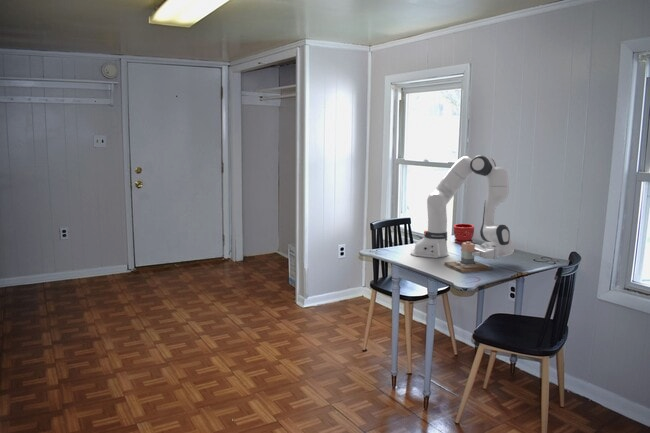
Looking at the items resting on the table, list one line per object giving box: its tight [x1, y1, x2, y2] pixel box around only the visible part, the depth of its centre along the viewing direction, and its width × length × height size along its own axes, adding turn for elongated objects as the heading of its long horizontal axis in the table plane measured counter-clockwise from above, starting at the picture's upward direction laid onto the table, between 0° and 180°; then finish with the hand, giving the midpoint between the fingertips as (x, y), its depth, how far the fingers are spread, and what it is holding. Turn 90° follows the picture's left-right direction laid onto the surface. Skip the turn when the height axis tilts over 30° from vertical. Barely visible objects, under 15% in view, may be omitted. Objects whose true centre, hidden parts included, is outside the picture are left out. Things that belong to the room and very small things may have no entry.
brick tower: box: [460, 242, 476, 265], centre depth 284 cm, size 5×5×13 cm
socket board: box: [443, 260, 492, 274], centre depth 285 cm, size 18×18×3 cm
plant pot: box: [453, 223, 475, 245], centre depth 345 cm, size 13×13×12 cm
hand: (466, 252), depth 283 cm, fingers open, 8 cm apart
